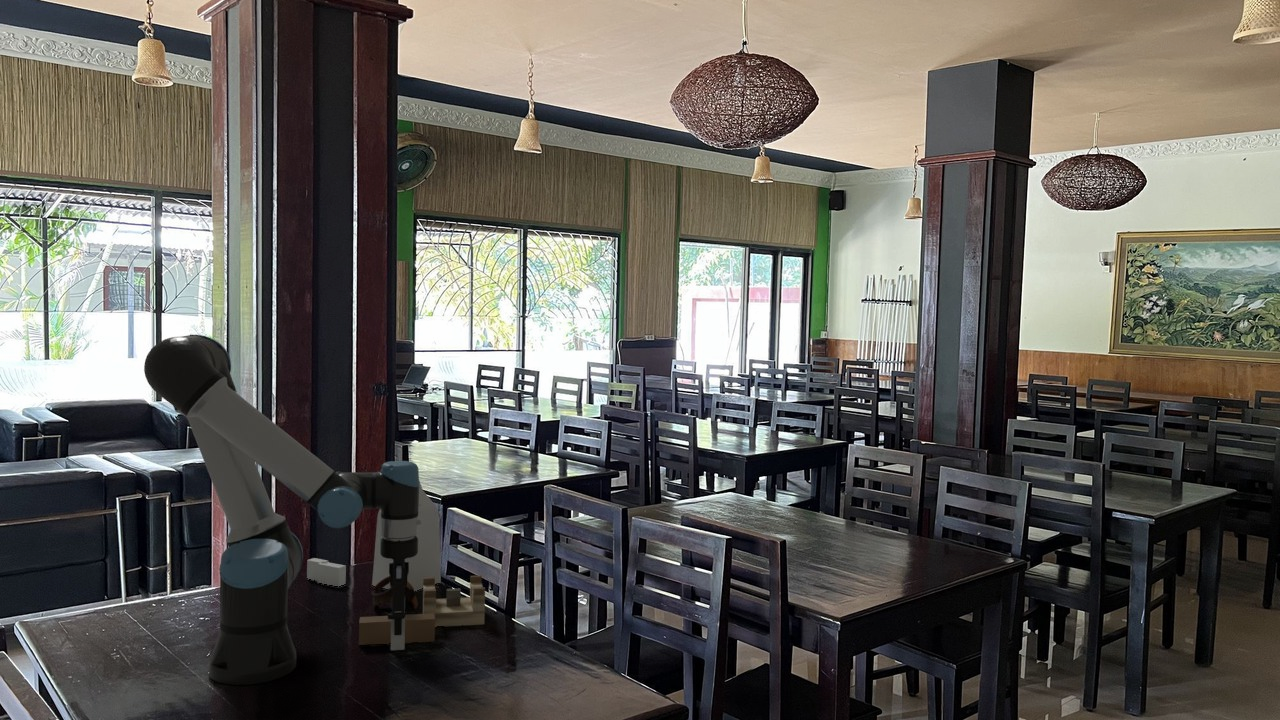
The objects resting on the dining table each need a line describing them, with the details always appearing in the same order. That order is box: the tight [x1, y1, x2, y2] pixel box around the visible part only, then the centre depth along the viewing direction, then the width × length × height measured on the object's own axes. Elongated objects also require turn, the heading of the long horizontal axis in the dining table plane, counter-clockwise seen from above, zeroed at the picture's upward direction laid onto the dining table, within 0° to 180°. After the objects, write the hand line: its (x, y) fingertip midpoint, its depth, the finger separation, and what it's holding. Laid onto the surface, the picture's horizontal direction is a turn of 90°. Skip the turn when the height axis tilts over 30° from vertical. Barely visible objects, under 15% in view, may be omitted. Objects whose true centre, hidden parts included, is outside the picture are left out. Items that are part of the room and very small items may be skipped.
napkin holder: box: [306, 557, 347, 588], centre depth 227 cm, size 15×11×6 cm
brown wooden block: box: [358, 613, 436, 646], centre depth 188 cm, size 4×15×5 cm, turn 105°
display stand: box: [422, 574, 486, 628], centre depth 203 cm, size 10×13×8 cm
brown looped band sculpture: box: [371, 576, 419, 609], centre depth 210 cm, size 12×10×8 cm
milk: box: [371, 480, 442, 592], centre depth 226 cm, size 12×12×26 cm
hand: (397, 637), depth 189 cm, fingers open, 13 cm apart
